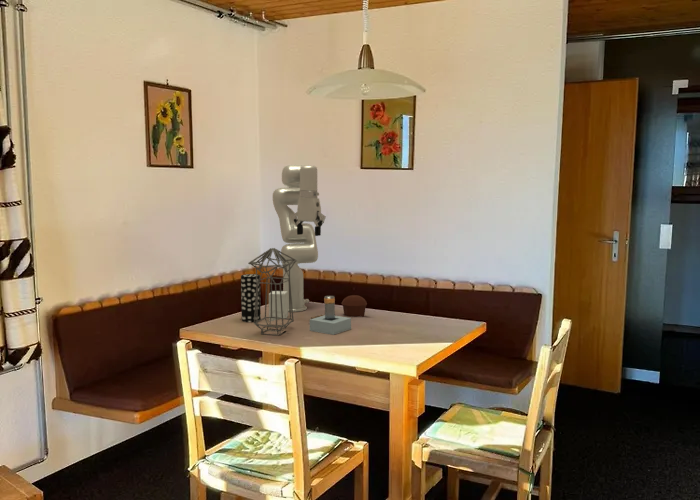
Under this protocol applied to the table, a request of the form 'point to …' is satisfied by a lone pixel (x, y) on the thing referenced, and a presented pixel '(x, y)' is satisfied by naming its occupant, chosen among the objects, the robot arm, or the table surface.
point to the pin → (329, 308)
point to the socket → (330, 325)
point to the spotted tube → (249, 297)
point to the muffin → (354, 306)
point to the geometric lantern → (282, 259)
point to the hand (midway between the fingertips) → (308, 235)
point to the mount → (316, 317)
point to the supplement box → (278, 305)
